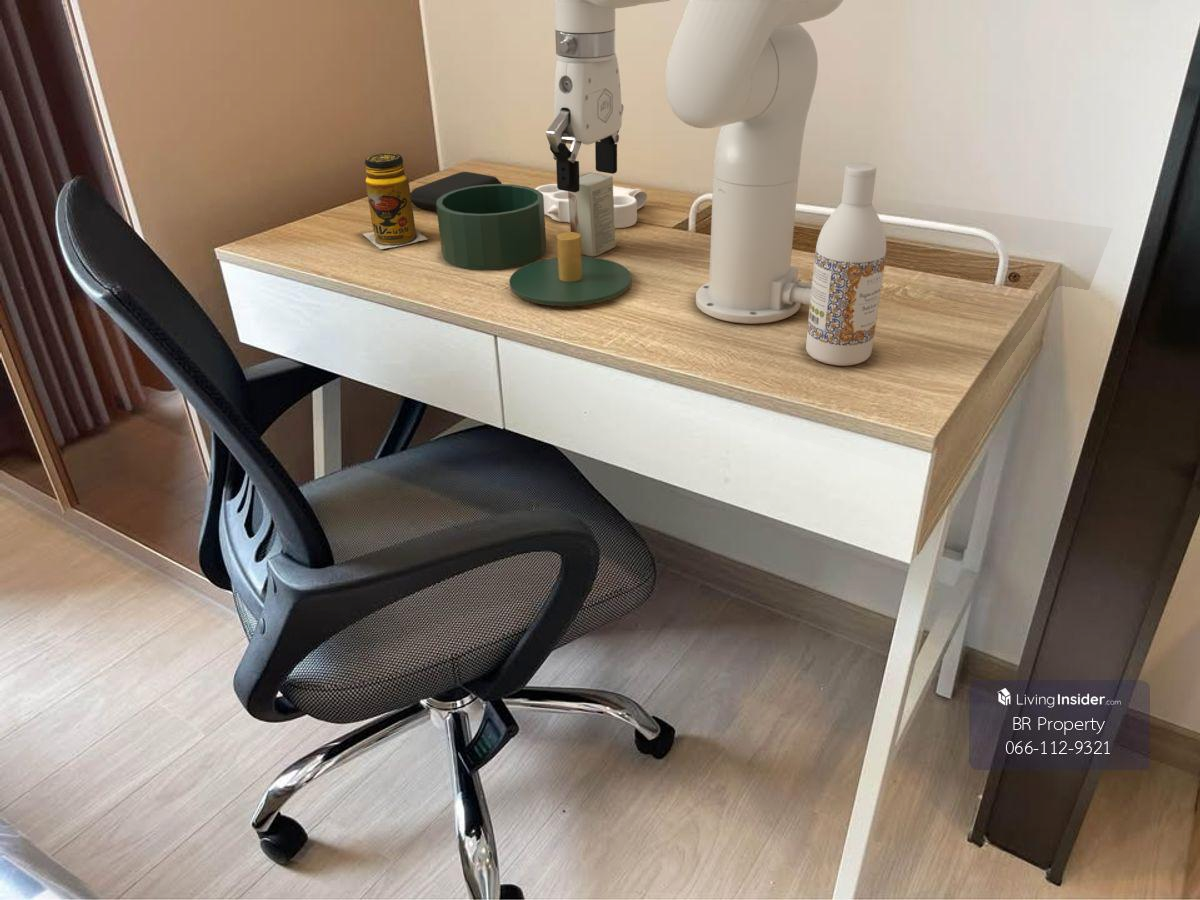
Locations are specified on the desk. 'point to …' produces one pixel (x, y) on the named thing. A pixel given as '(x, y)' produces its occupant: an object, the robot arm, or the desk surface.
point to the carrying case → (447, 188)
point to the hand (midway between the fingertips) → (587, 181)
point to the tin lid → (570, 277)
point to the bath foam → (847, 275)
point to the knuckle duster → (623, 198)
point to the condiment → (389, 202)
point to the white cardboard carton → (593, 213)
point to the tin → (492, 226)
